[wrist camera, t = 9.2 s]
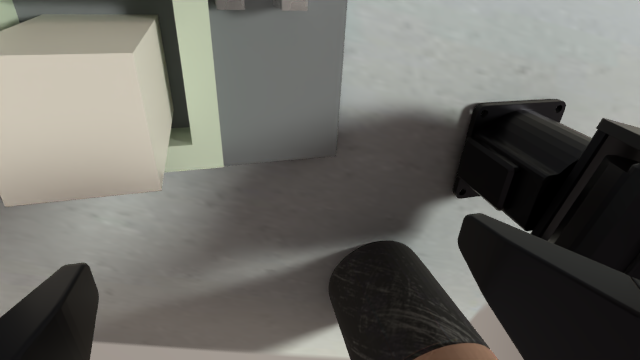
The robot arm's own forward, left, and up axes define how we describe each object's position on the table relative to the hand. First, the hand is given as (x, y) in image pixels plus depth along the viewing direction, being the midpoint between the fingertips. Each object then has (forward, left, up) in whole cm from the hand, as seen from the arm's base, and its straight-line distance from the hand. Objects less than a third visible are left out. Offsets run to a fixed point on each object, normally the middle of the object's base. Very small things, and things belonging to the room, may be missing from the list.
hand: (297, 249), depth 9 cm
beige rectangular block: (+5, -2, -11) cm, 12 cm away
